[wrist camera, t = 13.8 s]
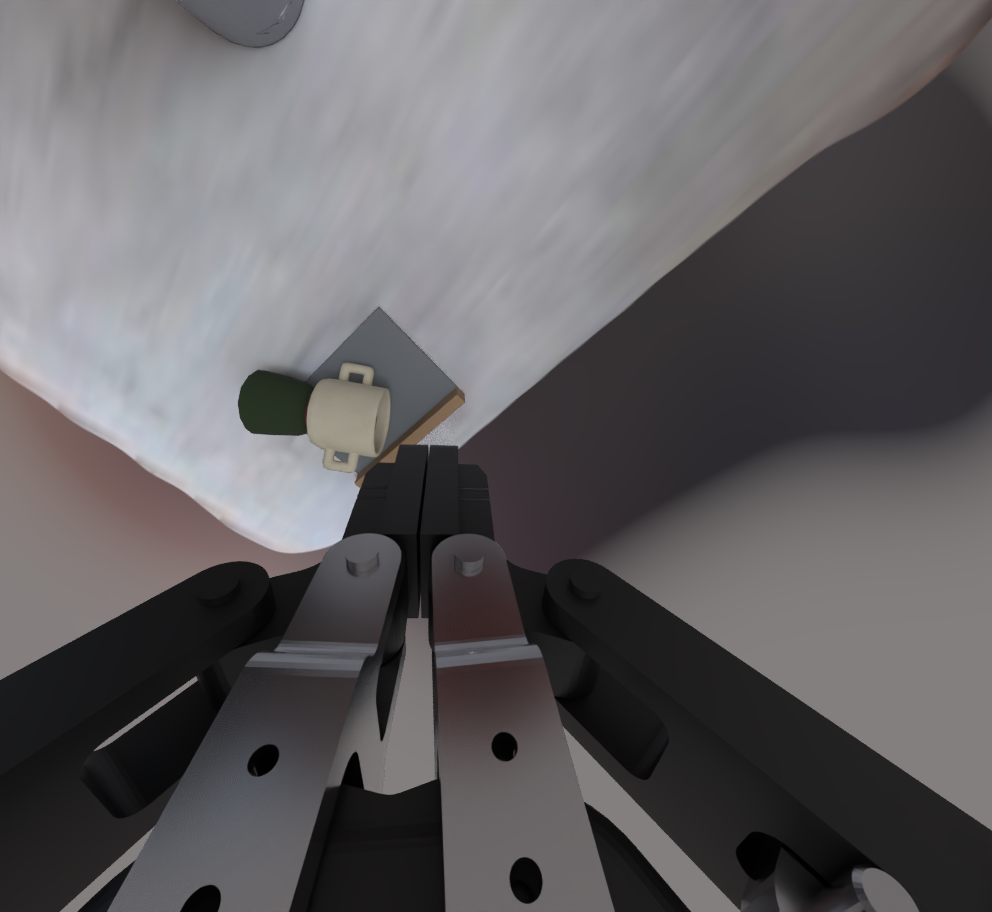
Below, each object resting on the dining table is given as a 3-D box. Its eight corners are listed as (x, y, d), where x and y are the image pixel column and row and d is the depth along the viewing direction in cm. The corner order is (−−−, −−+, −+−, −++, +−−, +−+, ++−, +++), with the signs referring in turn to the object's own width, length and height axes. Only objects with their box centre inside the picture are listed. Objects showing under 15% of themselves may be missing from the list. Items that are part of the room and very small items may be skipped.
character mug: (256, 456, 43) (380, 476, 44) (216, 452, 36) (365, 476, 37) (276, 357, 44) (397, 378, 45) (241, 333, 37) (386, 360, 38)
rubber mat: (277, 409, 44) (269, 419, 42) (378, 306, 39) (374, 311, 37) (366, 478, 49) (362, 489, 47) (464, 394, 45) (464, 402, 43)
